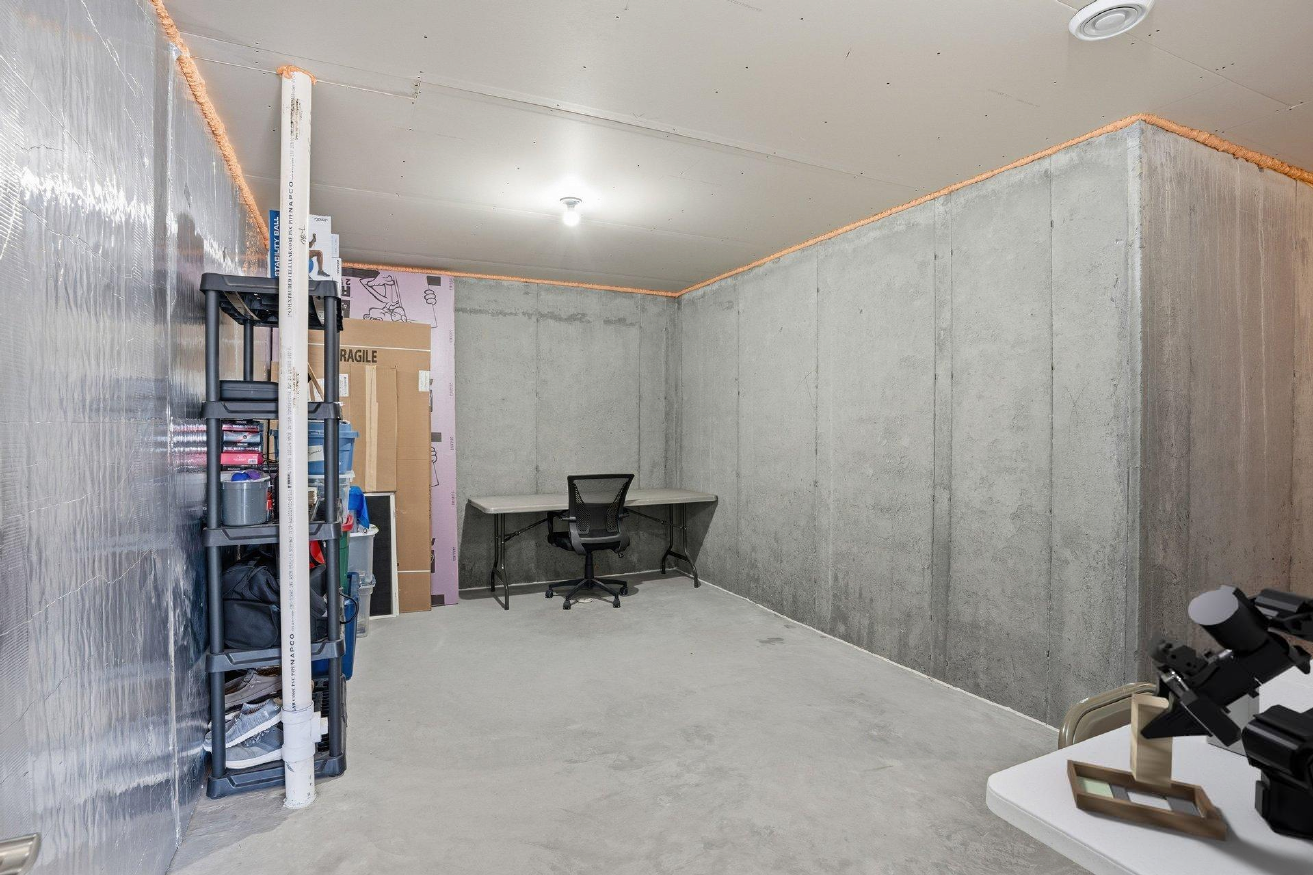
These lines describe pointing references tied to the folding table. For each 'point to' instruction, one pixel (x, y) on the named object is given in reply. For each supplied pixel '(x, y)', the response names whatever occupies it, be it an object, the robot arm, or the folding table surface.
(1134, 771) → the maple block
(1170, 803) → the pads
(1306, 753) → the robot arm
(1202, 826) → the brown rectangular frame
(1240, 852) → the folding table surface
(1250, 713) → the skincare box
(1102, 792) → the pad
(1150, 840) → the folding table surface
